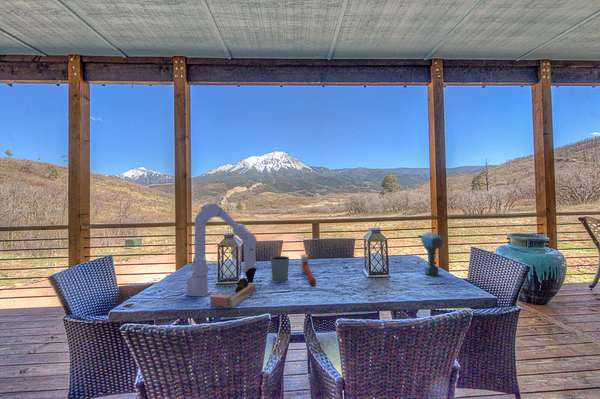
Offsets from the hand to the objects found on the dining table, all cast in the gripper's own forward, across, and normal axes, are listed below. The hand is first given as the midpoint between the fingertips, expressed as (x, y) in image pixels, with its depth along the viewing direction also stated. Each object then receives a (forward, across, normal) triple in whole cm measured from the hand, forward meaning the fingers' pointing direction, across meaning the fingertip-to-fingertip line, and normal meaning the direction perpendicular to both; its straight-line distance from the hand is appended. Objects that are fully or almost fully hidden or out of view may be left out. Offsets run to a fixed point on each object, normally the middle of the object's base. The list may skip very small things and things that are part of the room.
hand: (250, 282), depth 159 cm
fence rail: (+1, -20, -6) cm, 21 cm away
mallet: (+2, +19, -26) cm, 33 cm away
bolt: (+2, -12, -1) cm, 13 cm away
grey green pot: (+1, +13, -12) cm, 18 cm away
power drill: (+1, +42, -92) cm, 101 cm away
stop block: (+1, -30, 0) cm, 30 cm away
